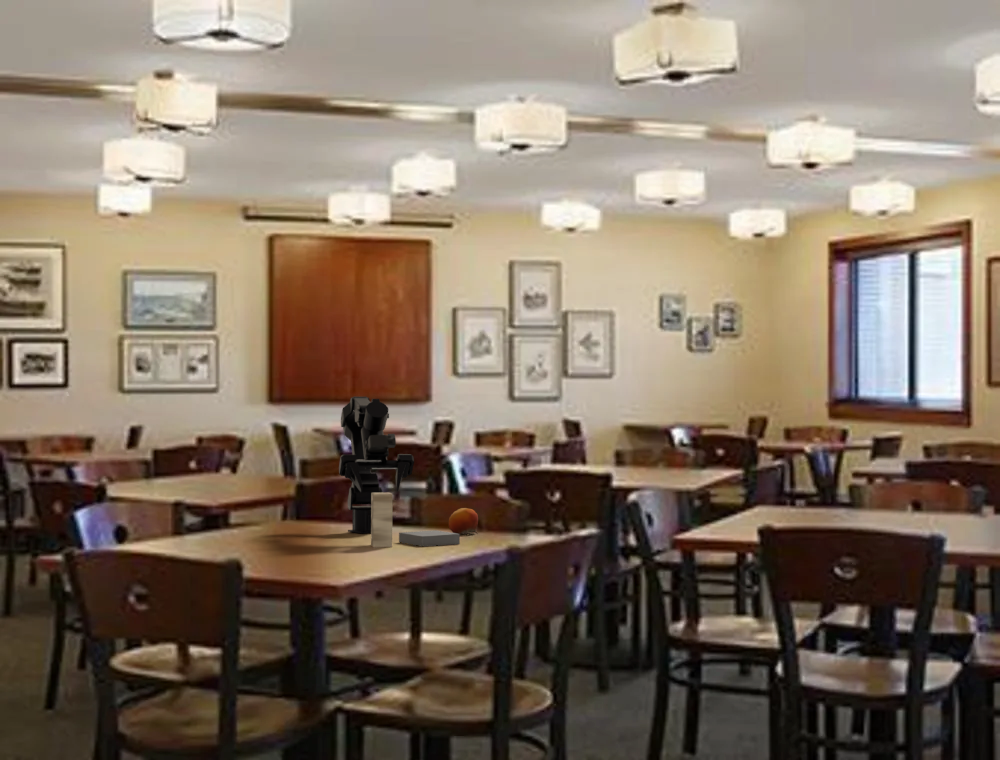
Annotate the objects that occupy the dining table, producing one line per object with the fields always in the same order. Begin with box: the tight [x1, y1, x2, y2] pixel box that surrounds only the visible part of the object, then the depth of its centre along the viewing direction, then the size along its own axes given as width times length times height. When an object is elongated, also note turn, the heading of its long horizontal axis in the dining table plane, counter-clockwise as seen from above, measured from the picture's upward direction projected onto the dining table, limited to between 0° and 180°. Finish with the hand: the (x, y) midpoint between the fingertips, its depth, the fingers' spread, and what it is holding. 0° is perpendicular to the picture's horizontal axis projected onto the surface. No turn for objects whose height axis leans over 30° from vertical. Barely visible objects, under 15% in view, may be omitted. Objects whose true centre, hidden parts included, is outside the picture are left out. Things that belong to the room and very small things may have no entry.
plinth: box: [398, 530, 461, 547], centre depth 356 cm, size 11×11×2 cm
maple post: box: [370, 492, 393, 548], centre depth 349 cm, size 5×5×13 cm
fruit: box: [448, 507, 479, 535], centre depth 380 cm, size 8×8×8 cm
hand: (379, 490), depth 357 cm, fingers open, 9 cm apart
